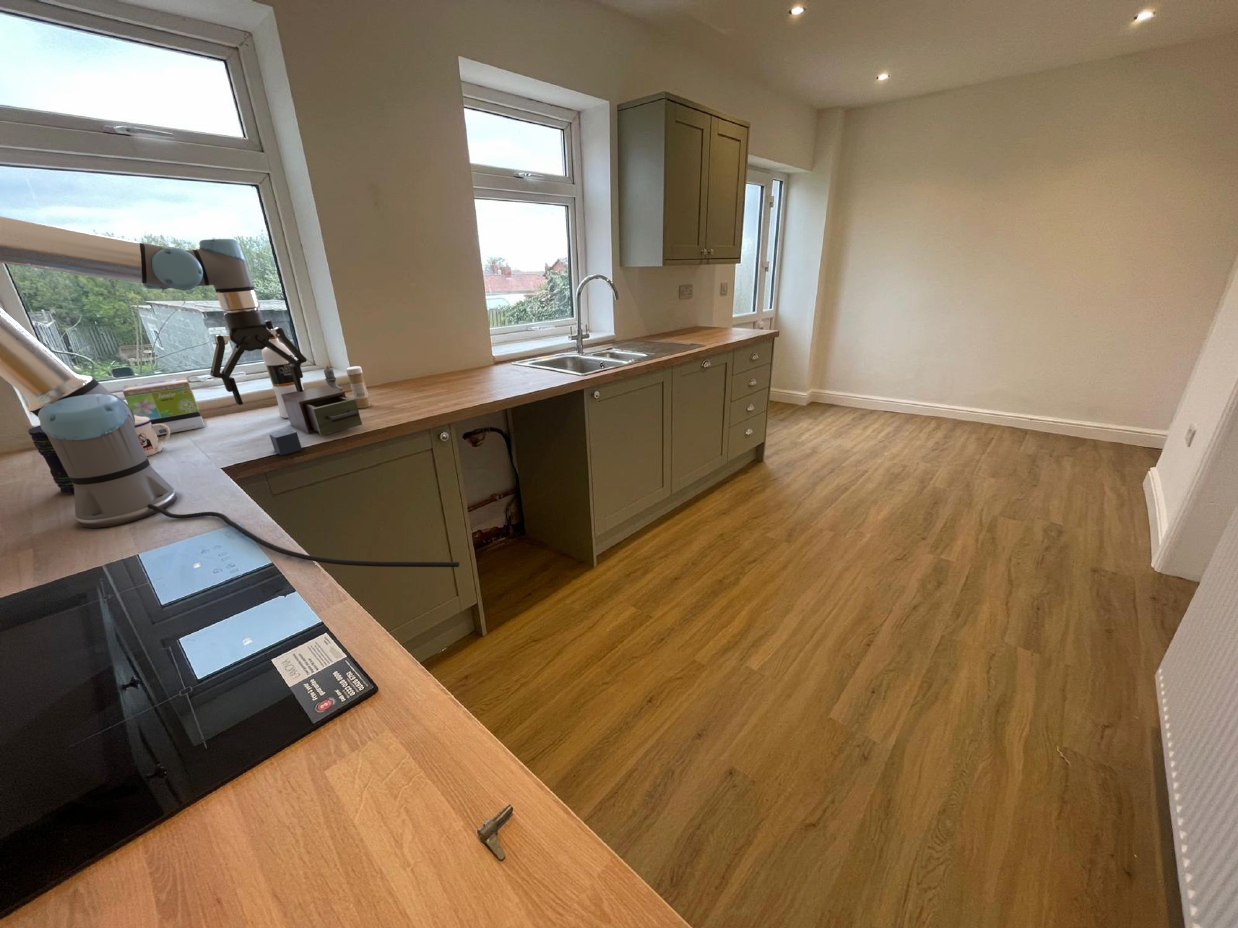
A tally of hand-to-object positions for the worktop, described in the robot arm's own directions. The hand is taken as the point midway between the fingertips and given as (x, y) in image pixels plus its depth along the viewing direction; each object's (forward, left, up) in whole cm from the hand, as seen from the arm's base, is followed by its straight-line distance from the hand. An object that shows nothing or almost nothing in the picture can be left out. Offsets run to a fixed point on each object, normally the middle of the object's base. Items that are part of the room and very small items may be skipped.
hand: (271, 397), depth 127 cm
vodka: (+36, -14, -15) cm, 41 cm away
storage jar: (+16, +37, -15) cm, 43 cm away
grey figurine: (+45, -30, -15) cm, 56 cm away
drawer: (+6, -15, -14) cm, 21 cm away
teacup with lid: (+33, +24, -15) cm, 43 cm away
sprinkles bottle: (+25, -31, -15) cm, 43 cm away
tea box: (+53, +15, -15) cm, 57 cm away
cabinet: (+18, -15, -15) cm, 28 cm away
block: (0, 0, -15) cm, 15 cm away
